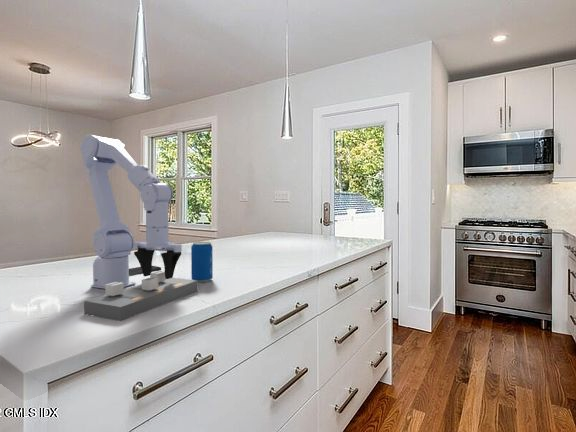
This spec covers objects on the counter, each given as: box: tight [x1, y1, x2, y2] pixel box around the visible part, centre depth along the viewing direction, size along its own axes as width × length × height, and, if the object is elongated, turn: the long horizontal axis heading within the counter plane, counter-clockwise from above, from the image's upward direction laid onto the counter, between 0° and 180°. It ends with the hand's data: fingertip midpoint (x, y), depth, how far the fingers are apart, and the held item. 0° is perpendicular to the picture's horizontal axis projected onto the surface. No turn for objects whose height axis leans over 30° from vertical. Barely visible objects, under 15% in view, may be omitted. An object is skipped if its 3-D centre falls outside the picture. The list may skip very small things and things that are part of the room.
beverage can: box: [190, 241, 214, 283], centre depth 109 cm, size 6×6×12 cm
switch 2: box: [141, 277, 158, 291], centre depth 86 cm, size 2×3×2 cm
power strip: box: [83, 277, 199, 322], centre depth 89 cm, size 11×31×3 cm, turn 158°
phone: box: [129, 265, 162, 277], centre depth 122 cm, size 8×1×15 cm
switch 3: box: [149, 270, 166, 282], centre depth 94 cm, size 2×3×2 cm
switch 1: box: [104, 282, 125, 296], centre depth 81 cm, size 2×3×2 cm
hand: (158, 276), depth 94 cm, fingers open, 7 cm apart
